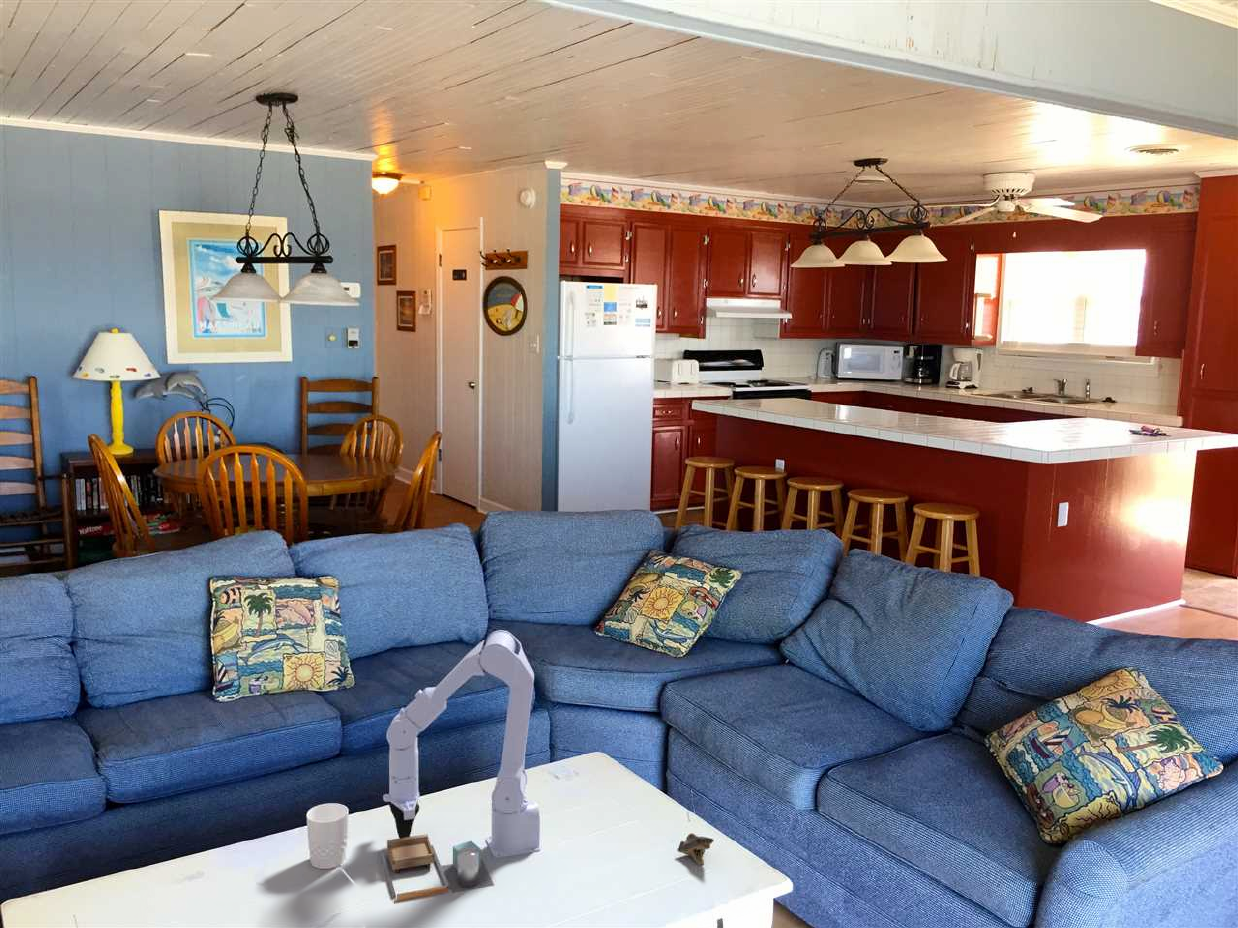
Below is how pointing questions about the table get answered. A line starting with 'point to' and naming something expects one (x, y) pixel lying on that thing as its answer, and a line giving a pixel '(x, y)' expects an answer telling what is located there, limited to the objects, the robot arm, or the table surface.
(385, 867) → the track
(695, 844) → the shark head
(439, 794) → the table surface
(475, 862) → the part
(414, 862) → the brown wooden tray
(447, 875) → the mat
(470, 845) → the part
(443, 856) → the table surface
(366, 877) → the table surface
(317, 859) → the white cup
